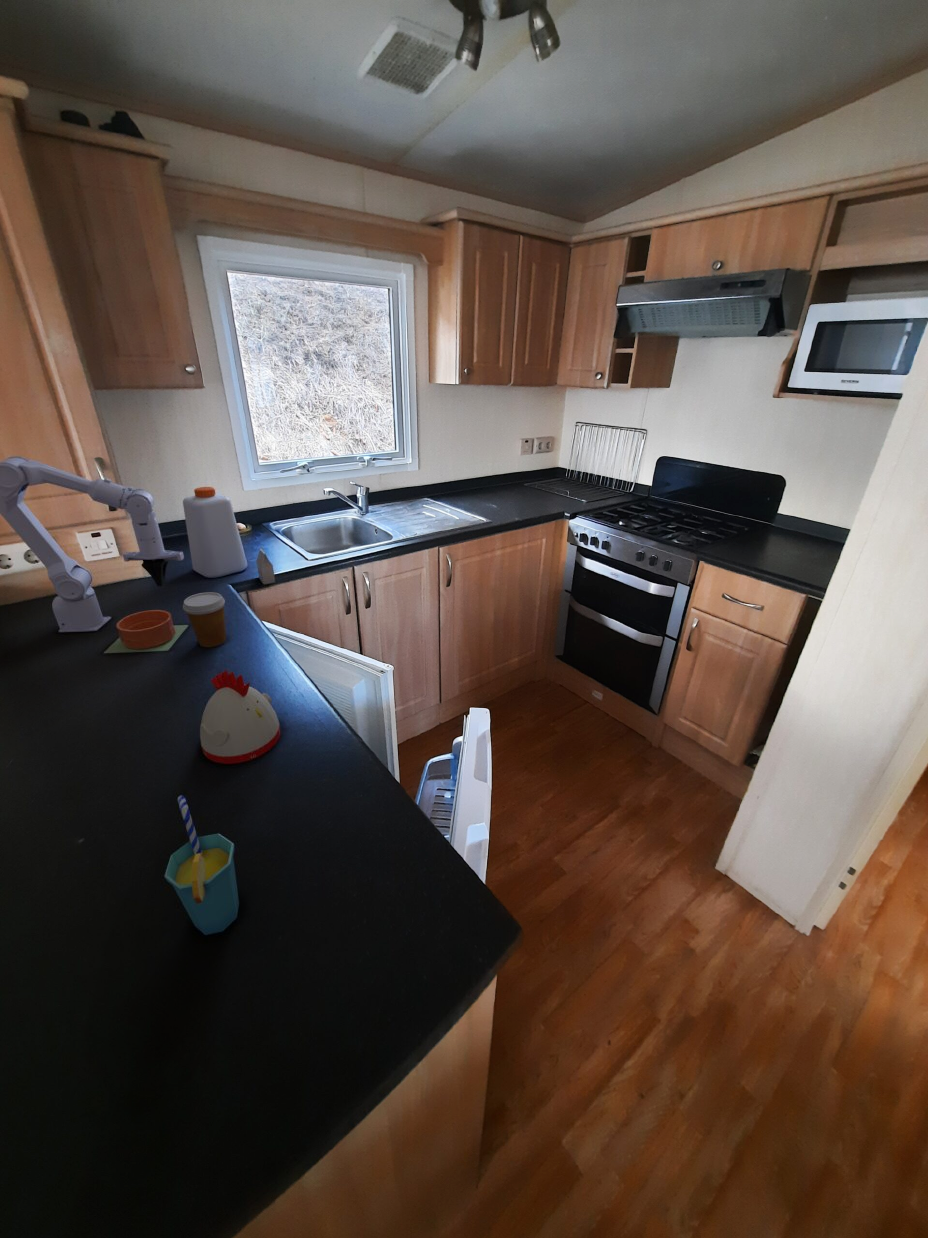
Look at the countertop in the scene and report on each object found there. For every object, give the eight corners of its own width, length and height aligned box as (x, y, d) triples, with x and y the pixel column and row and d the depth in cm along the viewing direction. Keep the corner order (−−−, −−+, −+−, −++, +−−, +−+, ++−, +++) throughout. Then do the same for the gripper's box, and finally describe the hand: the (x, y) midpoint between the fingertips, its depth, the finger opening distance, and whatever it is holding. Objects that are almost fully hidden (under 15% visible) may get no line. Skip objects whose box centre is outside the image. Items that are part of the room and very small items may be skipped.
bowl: (114, 652, 125) (107, 632, 122) (134, 629, 135) (128, 611, 133) (166, 648, 127) (161, 629, 124) (182, 627, 137) (177, 608, 135)
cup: (173, 886, 69) (144, 806, 63) (232, 857, 74) (211, 779, 67) (195, 974, 59) (163, 890, 53) (262, 935, 64) (241, 852, 57)
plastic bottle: (252, 569, 177) (238, 488, 164) (209, 581, 167) (190, 495, 154) (231, 559, 186) (216, 481, 173) (189, 569, 176) (170, 488, 163)
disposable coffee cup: (217, 652, 126) (207, 608, 120) (184, 648, 127) (172, 605, 122) (240, 634, 134) (231, 593, 129) (208, 631, 136) (198, 589, 130)
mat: (103, 653, 124) (103, 652, 124) (130, 627, 137) (130, 626, 137) (167, 650, 126) (167, 650, 126) (188, 625, 138) (188, 624, 138)
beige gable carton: (263, 584, 165) (258, 555, 160) (259, 577, 170) (254, 549, 166) (275, 582, 167) (270, 553, 162) (270, 575, 172) (265, 547, 167)
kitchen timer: (245, 771, 89) (229, 701, 82) (185, 752, 93) (165, 684, 86) (295, 725, 101) (284, 660, 94) (239, 709, 105) (225, 647, 98)
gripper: (183, 532, 138) (194, 578, 144) (126, 533, 137) (140, 579, 143) (172, 540, 132) (184, 588, 138) (113, 541, 131) (128, 589, 137)
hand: (161, 584), depth 140 cm, fingers closed
